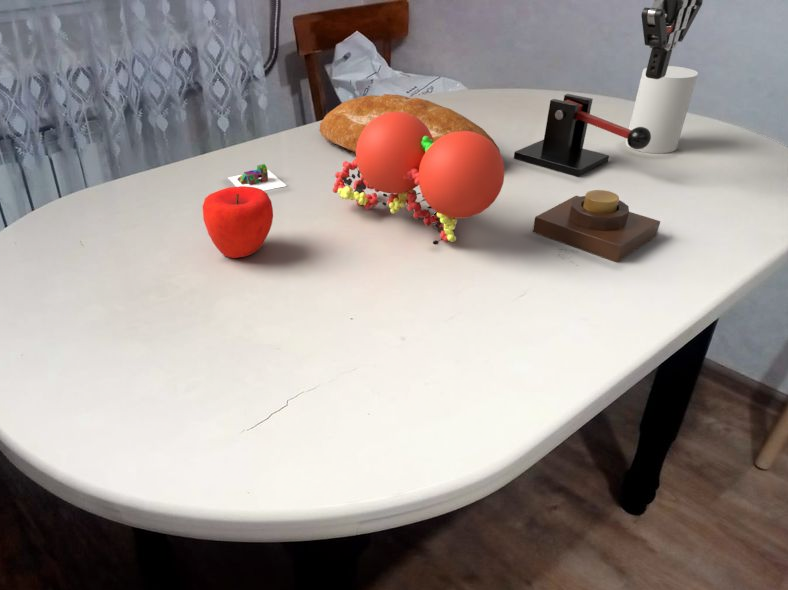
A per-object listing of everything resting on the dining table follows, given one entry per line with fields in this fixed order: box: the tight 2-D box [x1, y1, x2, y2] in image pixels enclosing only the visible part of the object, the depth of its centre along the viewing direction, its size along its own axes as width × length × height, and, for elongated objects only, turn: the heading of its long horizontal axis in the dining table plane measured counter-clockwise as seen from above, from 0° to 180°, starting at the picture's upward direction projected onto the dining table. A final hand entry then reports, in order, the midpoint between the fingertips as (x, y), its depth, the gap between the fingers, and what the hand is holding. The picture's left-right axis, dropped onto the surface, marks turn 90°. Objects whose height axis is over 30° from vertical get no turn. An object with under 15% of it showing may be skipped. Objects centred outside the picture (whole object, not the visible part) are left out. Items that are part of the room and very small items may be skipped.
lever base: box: [513, 93, 610, 178], centre depth 106 cm, size 12×9×10 cm
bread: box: [318, 93, 501, 154], centre depth 112 cm, size 18×35×9 cm, turn 51°
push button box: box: [532, 195, 661, 263], centre depth 85 cm, size 12×10×4 cm
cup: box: [625, 65, 699, 154], centre depth 110 cm, size 8×8×12 cm
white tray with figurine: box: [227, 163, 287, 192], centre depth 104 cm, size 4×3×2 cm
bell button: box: [583, 189, 620, 214], centre depth 84 cm, size 4×4×2 cm
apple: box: [202, 186, 274, 259], centre depth 83 cm, size 9×9×8 cm
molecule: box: [332, 112, 506, 246], centre depth 86 cm, size 25×11×15 cm, turn 48°
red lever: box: [565, 100, 651, 150], centre depth 101 cm, size 15×3×3 cm, turn 42°
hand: (654, 77), depth 93 cm, fingers closed
